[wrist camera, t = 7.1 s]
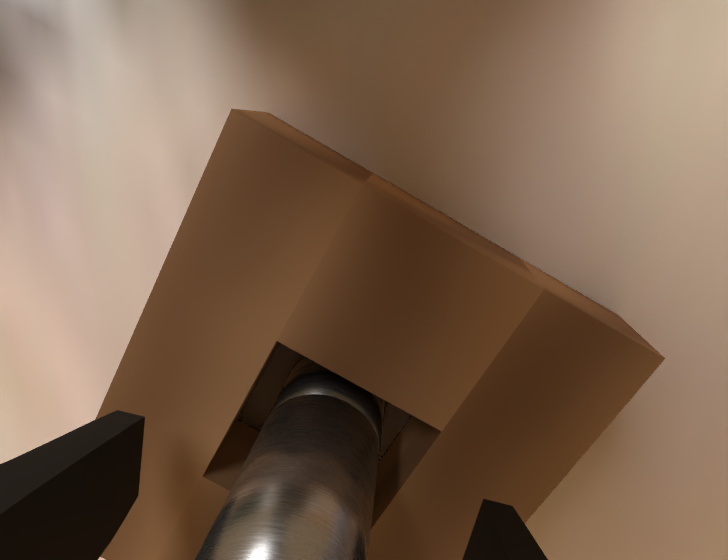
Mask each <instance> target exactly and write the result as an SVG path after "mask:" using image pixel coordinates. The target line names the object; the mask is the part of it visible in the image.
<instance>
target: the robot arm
mask: <svg viewBox="0 0 728 560" xmlns="http://www.w3.org/2000/svg"><path fill="white" fill-rule="evenodd" d="M144 424H145V417H144V416H140V415H136V414H132V413H128V412H123V411H119V410H116V411H114V412H112V413H109V414H107V415H105V416H103V417H100V418H98V419H96V420H94V421H92V422H90V423H88V424H86V425H84V426H82V427H79V428H77V429H75V430H73V431H71V432H69V433H67V434H65V435H63V436H61V437H59V438H57V439H54V440H52V441H50V442H48V443H46V444H44V445H42V446H40V447H37V448H35V449H33V450H31V451H29V452H27V453H25V454H23V455H20V456H18V457H16V458H14V459H12V460H9V461H7V462H5V463H2V464H0V560H98V559H99V557H100V556H101V555H102V553H103V552H104V551H105V549H106V548H107V546H108V545H109V544H110V542H111V541H112V539H113V538H114V536H115V534H116V533H117V531H118V530H119V528H120V526H121V525H122V523H123V521H124V520H125V518H126V516H127V515H128V513H129V511H130V509H131V508H132V506H133V504H134V502H135V501H136V499H137V497H138V495H139V483H140V471H141V460H142V448H143V436H144ZM462 560H548V559H547V558H546V556H545V555H544V553H543V552H542V550H541V549H540V547H539V546H538V544H537V543H536V541H535V539H534V538H533V536H532V535H531V533H530V532H529V530H528V528H527V527H526V525H525V524H524V522H523V521H522V519H521V518H520V516H519V515H518V513H517V512H516V510H515V509H514V507H513V506H511V505H507V504H503V503H499V502H495V501H491V500H487V499H483V501H482V504H481V507H480V510H479V513H478V515H477V518H476V521H475V524H474V527H473V530H472V533H471V536H470V539H469V542H468V545H467V547H466V550H465V553H464V556H463V559H462Z"/></svg>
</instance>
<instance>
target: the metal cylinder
mask: <svg viewBox="0 0 728 560" xmlns="http://www.w3.org/2000/svg"><path fill="white" fill-rule="evenodd" d="M384 408H385V400H383V399H382V398H380V397H378V396H376V395H374V394H373V393H371V392H369V391H367V390H365V389H363V388H362V387H360V386H358V385H356V384H354V383H352V382H351V381H349V380H347V379H345V378H343V377H342V376H340V375H338V374H336V373H334V372H332V371H331V370H329V369H327V368H325V367H323V366H322V365H320V364H318V363H316V362H314V361H312V360H311V359H309V358H307V357H305V356H304V357H303V358H302V359H301V360H300V361H299V362H298V363H297V364H296V365H295V366H294V368H293V369H292V371H291V373H290V375H289V377H288V379H287V381H286V383H285V385H284V386H283V388H282V390H281V392H280V394H279V396H278V398H277V400H276V402H275V404H274V406H273V408H272V410H271V412H270V414H269V416H268V418H267V420H266V422H265V423H264V425H263V427H262V429H261V431H260V433H259V435H258V437H257V439H256V441H255V443H254V445H253V447H252V449H251V451H250V453H249V455H248V457H247V458H246V460H245V462H244V464H243V466H242V468H241V470H240V472H239V474H238V476H237V478H236V480H235V482H234V484H233V486H232V488H231V490H230V492H229V494H228V495H227V497H226V499H225V501H224V503H223V505H222V507H221V509H220V511H219V513H218V515H217V517H216V519H215V521H214V523H213V525H212V527H211V529H210V531H209V532H208V534H207V536H206V538H205V540H204V542H203V544H202V546H201V548H200V550H199V552H198V554H197V556H196V558H195V560H367V559H368V550H369V541H370V532H371V523H372V514H373V505H374V497H375V488H376V479H377V470H378V461H379V452H380V444H381V435H382V426H383V417H384Z"/></svg>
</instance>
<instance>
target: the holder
mask: <svg viewBox="0 0 728 560" xmlns="http://www.w3.org/2000/svg"><path fill="white" fill-rule="evenodd" d="M279 343H281V344H283V345H285V346H287V347H289V348H291V349H292V350H294V351H296V352H298V353H300V354H301V355H303V356H305V357H307V358H309V359H311V360H312V361H314V362H316V363H318V364H320V365H322V366H323V367H325V368H327V369H329V370H331V371H332V372H334V373H336V374H338V375H340V376H342V377H343V378H345V379H347V380H349V381H351V382H352V383H354V384H356V385H358V386H360V387H362V388H363V389H365V390H367V391H369V392H371V393H373V394H374V395H376V396H378V397H380V398H382V399H383V400H385V401H387V402H389V403H391V404H393V405H394V406H396V407H398V408H400V409H402V410H403V411H405V412H407V413H409V414H411V415H412V416H411V417H410V419H409V420H408V422H407V423H406V425H405V426H404V427H403V429H402V430H401V432H400V433H399V435H398V436H397V438H396V439H395V441H394V442H393V443H392V445H391V446H390V448H389V449H388V451H387V452H386V454H385V455H384V456H383V458H382V459H381V461H380V462H379V464H378V470H377V479H376V488H375V497H374V505H373V514H372V523H371V532H370V541H369V550H368V559H367V560H462V559H463V556H464V553H465V550H466V547H467V545H468V542H469V539H470V536H471V533H472V530H473V527H474V524H475V521H476V518H477V515H478V513H479V510H480V507H481V504H482V501H483V499H487V500H491V501H495V502H499V503H503V504H507V505H511V506H513V507H514V509H515V510H516V512H517V513H518V515H519V516H520V518H521V519H522V521H523V522H524V523H525V522H526V521H527V520H528V519H529V518H530V516H531V515H532V514H533V513H534V512H535V511H536V509H537V508H538V507H539V506H540V505H541V504H542V502H543V501H544V500H545V499H546V498H547V497H548V495H549V494H550V493H551V492H552V491H553V489H554V488H555V487H556V486H557V485H558V484H559V482H560V481H561V480H562V479H563V478H564V477H565V475H566V474H567V473H568V472H569V471H570V470H571V468H572V467H573V466H574V465H575V464H576V462H577V461H578V460H579V459H580V458H581V457H582V455H583V454H584V453H585V452H586V451H587V450H588V448H589V447H590V446H591V445H592V444H593V443H594V441H595V440H596V439H597V438H598V437H599V435H600V434H601V433H602V432H603V431H604V430H605V428H606V427H607V426H608V425H609V424H610V423H611V421H612V420H613V419H614V418H615V417H616V416H617V414H618V413H619V412H620V411H621V410H622V409H623V407H624V406H625V405H626V404H627V403H628V401H629V400H630V399H631V398H632V397H633V396H634V394H635V393H636V392H637V391H638V390H639V389H640V387H641V386H642V385H643V384H644V383H645V382H646V380H647V379H648V378H649V377H650V376H651V374H652V373H653V372H654V371H655V370H656V369H657V367H658V366H659V365H660V364H661V363H662V362H663V360H664V359H665V358H664V357H663V356H662V355H661V354H660V353H659V352H658V351H656V350H655V349H654V348H653V347H652V346H651V345H650V344H649V343H648V342H647V341H646V340H645V339H643V338H642V337H641V336H640V335H639V334H638V333H637V332H636V331H635V330H634V329H633V328H632V327H630V326H629V325H628V324H627V323H626V322H625V321H624V320H623V319H622V318H621V317H620V316H619V315H617V314H615V313H614V312H612V311H610V310H608V309H607V308H605V307H603V306H601V305H600V304H598V303H596V302H594V301H593V300H591V299H589V298H588V297H586V296H584V295H582V294H581V293H579V292H577V291H575V290H574V289H572V288H570V287H569V286H567V285H565V284H563V283H562V282H560V281H558V280H556V279H555V278H553V277H551V276H550V275H548V274H546V273H544V272H543V271H541V270H539V269H537V268H536V267H534V266H532V265H531V264H529V263H527V262H525V261H524V260H522V259H520V258H518V257H517V256H515V255H513V254H511V253H510V252H508V251H506V250H505V249H503V248H501V247H499V246H498V245H496V244H494V243H492V242H491V241H489V240H487V239H486V238H484V237H482V236H480V235H479V234H477V233H475V232H473V231H472V230H470V229H468V228H467V227H465V226H463V225H461V224H460V223H458V222H456V221H454V220H453V219H451V218H449V217H447V216H446V215H444V214H442V213H441V212H439V211H437V210H435V209H434V208H432V207H430V206H428V205H427V204H425V203H423V202H422V201H420V200H418V199H416V198H415V197H413V196H411V195H409V194H408V193H406V192H404V191H403V190H401V189H399V188H397V187H396V186H394V185H392V184H390V183H389V182H387V181H385V180H384V179H382V178H380V177H378V176H377V175H375V174H373V173H371V172H370V171H368V170H366V169H364V168H363V167H361V166H359V165H358V164H356V163H354V162H352V161H351V160H349V159H347V158H345V157H344V156H342V155H340V154H339V153H337V152H335V151H333V150H332V149H330V148H328V147H326V146H325V145H323V144H321V143H320V142H318V141H316V140H314V139H313V138H311V137H309V136H307V135H306V134H304V133H302V132H300V131H299V130H297V129H295V128H294V127H292V126H290V125H288V124H287V123H285V122H283V121H281V120H280V119H278V118H276V117H275V116H273V115H271V114H269V113H266V112H257V111H247V110H238V109H231V111H230V114H229V116H228V118H227V121H226V123H225V125H224V127H223V130H222V132H221V134H220V137H219V139H218V141H217V143H216V146H215V148H214V150H213V152H212V155H211V157H210V159H209V162H208V164H207V166H206V168H205V171H204V173H203V175H202V178H201V180H200V182H199V184H198V187H197V189H196V191H195V194H194V196H193V198H192V200H191V203H190V205H189V207H188V210H187V212H186V214H185V216H184V219H183V221H182V223H181V225H180V228H179V230H178V232H177V235H176V237H175V239H174V241H173V244H172V246H171V248H170V251H169V253H168V255H167V257H166V260H165V262H164V264H163V267H162V269H161V271H160V273H159V276H158V278H157V280H156V283H155V285H154V287H153V289H152V292H151V294H150V296H149V298H148V301H147V303H146V305H145V308H144V310H143V312H142V314H141V317H140V319H139V321H138V324H137V326H136V328H135V330H134V333H133V335H132V337H131V340H130V342H129V344H128V346H127V349H126V351H125V353H124V356H123V358H122V360H121V362H120V365H119V367H118V369H117V371H116V374H115V376H114V378H113V381H112V383H111V385H110V387H109V390H108V392H107V394H106V397H105V399H104V401H103V403H102V406H101V408H100V410H99V413H98V415H97V417H96V419H98V418H100V417H103V416H105V415H107V414H109V413H112V412H114V411H116V410H119V411H123V412H128V413H132V414H136V415H140V416H144V417H145V424H144V436H143V448H142V460H141V471H140V483H139V495H138V497H137V499H136V501H135V502H134V504H133V506H132V508H131V509H130V511H129V513H128V515H127V516H126V518H125V520H124V521H123V523H122V525H121V526H120V528H119V530H118V531H117V533H116V534H115V536H114V538H113V539H112V541H111V542H110V544H109V545H108V546H107V548H106V549H105V551H104V552H103V553H102V555H101V556H100V557H102V558H104V559H106V560H195V558H196V556H197V554H198V552H199V550H200V548H201V546H202V544H203V542H204V540H205V538H206V536H207V534H208V532H209V531H210V529H211V527H212V525H213V523H214V521H215V519H216V517H217V515H218V513H219V511H220V509H221V507H222V505H223V503H224V501H225V499H226V497H227V495H228V494H229V492H230V490H231V488H232V486H233V484H234V482H235V480H236V478H237V476H238V474H239V472H240V470H241V468H242V466H243V464H244V462H245V460H246V458H247V457H248V455H249V453H250V451H251V449H252V447H253V445H254V443H255V441H256V439H257V437H258V435H259V433H260V432H259V431H257V430H255V429H253V428H251V427H249V426H248V425H246V424H244V423H242V422H240V421H238V420H237V419H238V417H239V415H240V413H241V412H242V410H243V408H244V406H245V404H246V403H247V401H248V399H249V397H250V395H251V394H252V392H253V390H254V388H255V386H256V384H257V383H258V381H259V379H260V377H261V375H262V374H263V372H264V370H265V368H266V366H267V365H268V363H269V361H270V359H271V357H272V355H273V354H274V352H275V350H276V348H277V346H278V345H279ZM96 419H95V420H96Z"/></svg>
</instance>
